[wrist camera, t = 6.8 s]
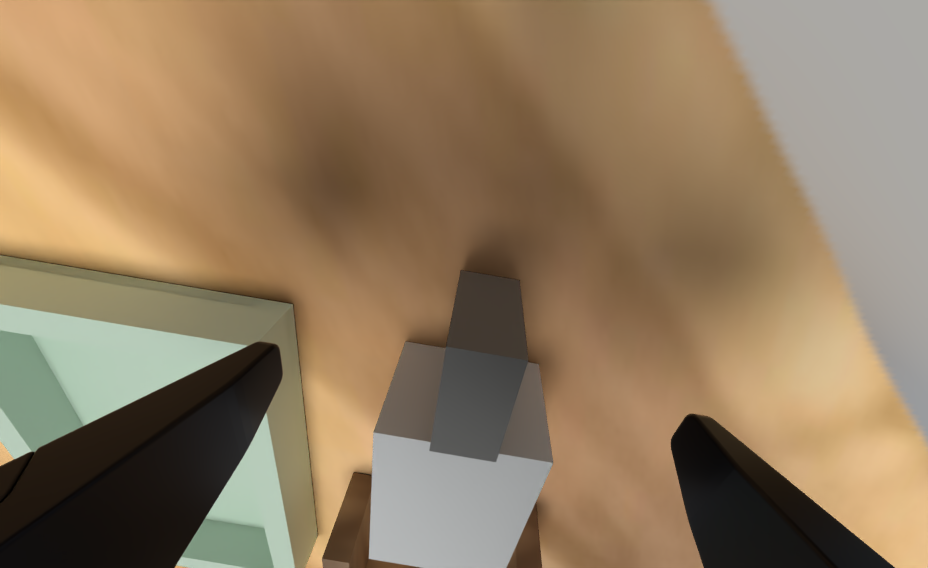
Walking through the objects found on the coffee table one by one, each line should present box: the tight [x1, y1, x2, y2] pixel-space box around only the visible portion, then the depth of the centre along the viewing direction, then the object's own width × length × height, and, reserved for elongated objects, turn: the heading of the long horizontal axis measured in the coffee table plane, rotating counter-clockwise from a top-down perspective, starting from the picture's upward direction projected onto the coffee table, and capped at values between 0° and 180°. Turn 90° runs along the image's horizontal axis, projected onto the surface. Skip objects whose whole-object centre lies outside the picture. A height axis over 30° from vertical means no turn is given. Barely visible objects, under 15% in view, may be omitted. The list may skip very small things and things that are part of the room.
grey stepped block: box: [369, 270, 553, 568], centre depth 14 cm, size 6×12×5 cm, turn 172°
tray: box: [0, 255, 318, 568], centre depth 17 cm, size 12×18×3 cm
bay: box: [322, 473, 542, 568], centre depth 20 cm, size 10×8×4 cm
